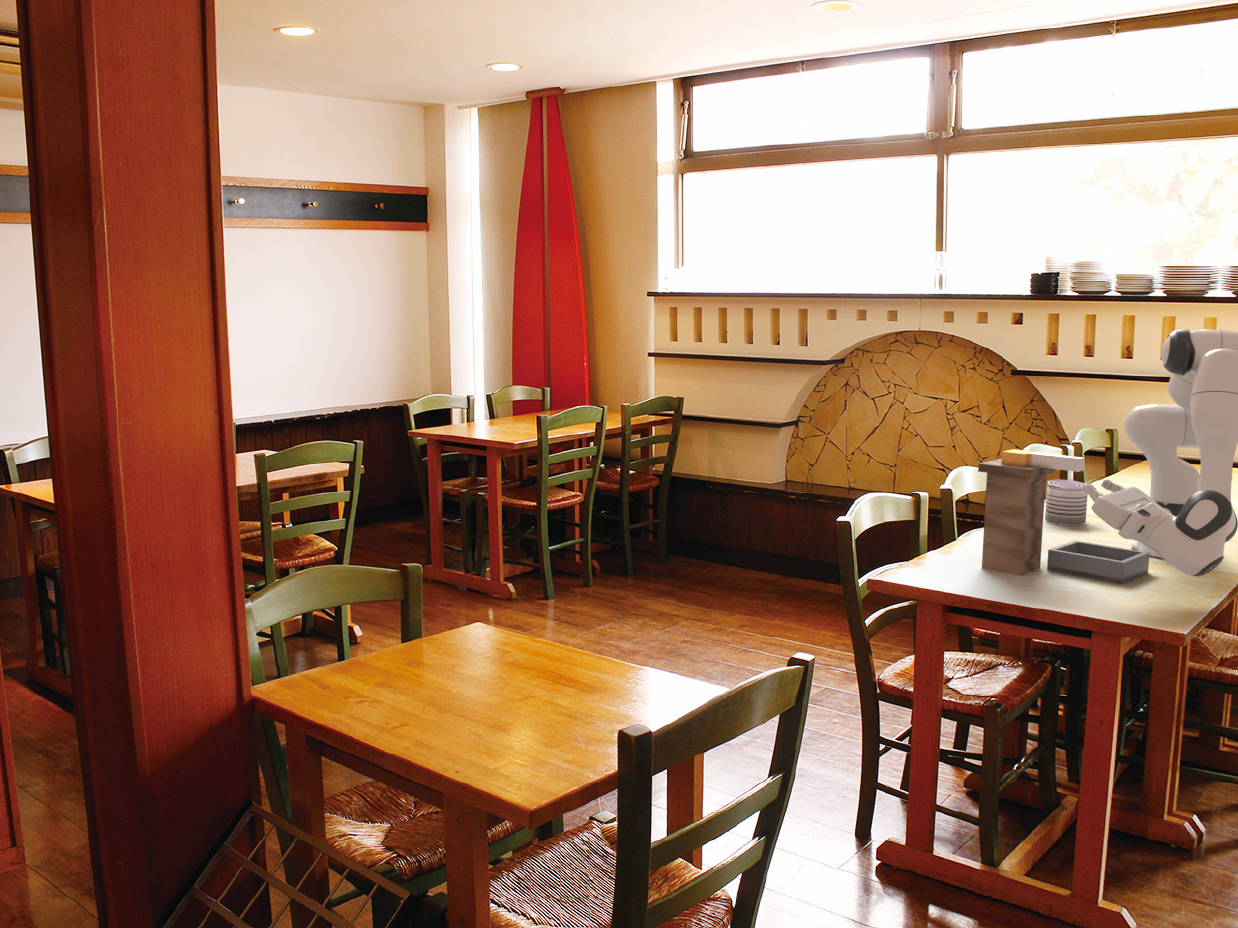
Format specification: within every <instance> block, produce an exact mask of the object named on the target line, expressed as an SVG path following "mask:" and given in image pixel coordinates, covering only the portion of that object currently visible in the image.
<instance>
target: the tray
mask: <svg viewBox="0 0 1238 928" xmlns="http://www.w3.org/2000/svg"><path fill="white" fill-rule="evenodd" d="M1149 565H1150V553H1149V552H1142V551H1138V550H1136V549H1130V548H1123V547H1118V546H1117V547H1116V546H1112V545H1106V544H1099V543H1092V542H1086V541H1080V540H1072V541H1070V542H1067V543H1064V544H1061V545H1058V546H1055V547H1052V548H1049V549H1048V550H1047V564H1046V570H1048V571H1051V572H1052V571H1053V572H1059V573H1064V574H1069V575H1072V576H1080V577H1083V578H1089V579H1095V580H1101V581H1107V582H1111V583H1118V584H1125V583H1127V582H1130V581H1132V580H1135V579H1137V578H1140V577H1142V576H1144V575H1146V574H1149Z"/></svg>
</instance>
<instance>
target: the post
mask: <svg viewBox="0 0 1238 928" xmlns="http://www.w3.org/2000/svg"><path fill="white" fill-rule="evenodd" d="M1001 460H1002V458H999V459H996V460H995V459H994V460H990V461H989V460H988V461H984V462H979V463H978V467H977V472H980V473H986V482H985V484H986V485H985V486H986V487H985V500H984V501H985V502H984V506H985V507H984V520H983V521H984V522H983V523H984V525H983V539H982V540H983V542H982V556H981V557H982V560H981V569H984V570H988V571H995V572H1000V573H1005V574H1009V575H1010V574H1011V575H1015V576H1019V577H1020V576H1021V577H1022V576H1024V575H1026V574H1029V573H1032V572H1035V571H1037V570H1040V569H1041V562H1042V559H1041V558H1042V548H1043V547H1042V546H1043V545H1042V543H1043V531H1044V530H1043V529H1044V527H1043V526H1044V516H1045V515H1044V512H1045V501H1046V485H1047V484H1046V482H1047V475H1049V474H1054V473H1056V469H1050V468H1041V467H1033V466H1026V467H1024V466H1016V465H1007V464H1001Z"/></svg>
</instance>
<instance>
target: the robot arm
mask: <svg viewBox="0 0 1238 928" xmlns="http://www.w3.org/2000/svg"><path fill="white" fill-rule="evenodd" d="M1161 346H1162V347H1161V351H1160V352H1161V353H1160V355H1161V361H1162V365H1163V367H1164V368H1165V370H1166V371H1167V372H1169V373H1171V376H1170V378H1169V381H1168V386H1167V390H1168V391H1167V392H1168V395H1169V396H1170V398H1171V399H1172V401H1173V402H1174V403H1176V404H1172V403H1171V404H1169V403H1164V404H1163V403H1152V404H1144V405H1140V406H1134V407H1133V408H1132V409H1130V411H1129V412H1128V413H1127V414H1126V417H1125V420H1124V423H1123V424H1124V425H1123V426H1124V433H1125V435H1126V437H1127V438H1128V440H1129V441H1130V442H1131V443H1132V444H1134V445H1135V446H1136V447H1137V448H1138V449H1140V451H1141V452H1142V453H1143V455H1144V457H1145V458H1146V460H1147V463H1148V465H1149V471H1150V493H1149V495H1147V494H1146V493H1145V492H1144V491H1143V490H1141V489H1139V488H1137V487H1135V486H1131V487H1127V488H1126V487H1124V486H1122V485H1119V484H1117V483H1115V482H1113V481H1112V480H1110V479H1105V480H1103V481H1102V482H1101V487H1102V488H1103V489H1105V490H1106V491H1110V492H1111V493H1107V494H1104V493H1101V492H1099V491H1098V490H1097V487H1095V486H1093V484H1087V485H1086V487H1085V488H1084V492H1086V493H1087V494H1088V495H1089V496H1088V495H1087V496H1088V497H1089V498H1090V499H1091V500H1092V501H1093V504H1092V506H1091V510H1092V512H1093V513H1094V514H1095V515H1096V516H1097V517H1099V518H1100V519H1101V520H1102V521H1103V522H1104V523H1106V524H1107V525H1109V527H1111V528H1112V529H1114V530H1117V531H1118V533H1117V534H1118V535H1119V536H1120V537H1121V538H1123V539H1124V540H1125V539H1126V540H1133V541H1136V542H1137V543H1132V544H1131V546H1130V547H1131V549H1132V550H1136V551H1142V552H1149V553H1150V555H1149V557H1150V556H1151V557H1155V558H1160V559H1163V561H1166V562H1167V563H1168V564H1170V565H1171V566H1172V567H1174V568H1175V569H1177V570H1179V571H1180V572H1182V573H1184V574H1185V575H1188V576H1190V577H1202V576H1205V575H1206V574H1209V573H1210V572H1212V571H1213V570H1214V569H1215V568H1217V567H1218V566H1219V565H1220V564H1221V563H1222V562H1223V560H1224V558H1225V555H1224V553H1225V552H1224V551H1225V544H1226V543H1227V542H1229V541H1230V540H1231V539H1232V538H1233V537H1234V536H1235V535H1236V533H1237V531H1238V517H1237V514H1236V512H1235V509H1234V508H1233V506H1232V501H1231V496H1232V495H1231V494H1232V493H1231V492H1232V491H1231V490H1232V479H1233V466H1234V458H1235V455H1236V451H1237V447H1238V331H1237V332H1236V331H1231V330H1224V329H1222V330H1221V329H1219V330H1218V329H1213V328H1202V329H1194V330H1193V329H1192V330H1191V329H1189V328H1183V329H1176V330H1172V331H1171V332H1170V333H1169V334H1168V335H1167V337H1166V339H1165V340H1164V342H1163V344H1162V345H1161ZM1178 448H1184V449H1185V448H1187V449H1189V448H1190V449H1192V448H1193V449H1198V450H1199V454H1200V455H1199V456H1200V468H1199V469H1200V470H1198V469H1197V467H1195V466H1194V465H1193V464H1190V463H1189V462H1187V461H1185V460H1183V459H1181V458H1180V457H1179V455H1178V453H1177V451H1178Z"/></svg>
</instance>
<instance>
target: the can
mask: <svg viewBox="0 0 1238 928" xmlns="http://www.w3.org/2000/svg"><path fill="white" fill-rule="evenodd" d="M1046 482H1047V484H1046V495H1045V511H1044V512H1045V515H1044V521H1045V520H1046V521H1047V522H1050V523H1049V524H1052V523H1055V524H1054V525H1056V524H1062V525H1061V526H1066V525H1081V524H1084V523H1087V507H1088V506H1087V505H1088V494H1087V493H1086V492H1084V488H1085V487H1086V485H1088V484H1087V483H1084V482H1081V481H1076V480H1073V479H1072V480H1071V479H1057V478H1056V479H1051V480H1046ZM1046 521H1045V522H1046ZM1047 522H1046V523H1047ZM1084 525H1085V524H1084ZM1081 526H1082V525H1081Z"/></svg>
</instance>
